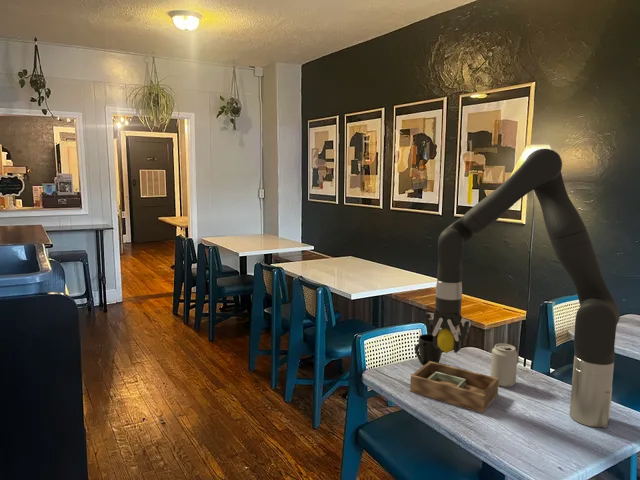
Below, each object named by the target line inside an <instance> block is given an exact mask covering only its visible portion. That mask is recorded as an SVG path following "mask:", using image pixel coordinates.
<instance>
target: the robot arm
mask: <svg viewBox="0 0 640 480" xmlns="http://www.w3.org/2000/svg"><path fill="white" fill-rule="evenodd" d="M562 168H563V160H562V158H561V156H560V154H559V153H558V152H557V151H556V150H553V149H550V148H539V149H536V150H534V151H533V152H531V153H530V154H529V155H528V157H526V159H525V161H524V162H523V163H522V164H521V165H520V166H519V168H518V169H517V170H516V171H514V173H512V174H511V175H510V177H509V178H507V179H506V180H505V181H504V182H502V183H501V185H500V186H498V187H497V188H495V189H494V190H493V191H492V192H490V193H489V194H488V195H486V196H485V197H484V198H483V199H481V200H480V201H479V202H477V203H476V204H475V205H473V206H472V207H471V208H470V209H469V210H468V211H466V213H465V214H463V215H462V216H461V217H460V218H459V219H457V220H456V221H454V222H453V223H451V224H450V225H449V226H447V227H446V228H445V229H444V230H442V231H441V233H440V234H439V237H438V241H437V256H438V257H437V258H438V259H437V260H438V263H437V264H438V265H437V274H436V276H437V277H436V278H437V279H436V284H435V285H436V286H435V302H434V310H435V311H434V312H431V311H429V312H427V313H425V314H424V321H425V328H426V332H427V334H432V335H433V346H434V348H438V347H439V346H438V343H437V337H438V334H439V332H440V331H441V330H442V329H445V328H447V329H449V330H451V332H452V334H453V335H454V338H455V341H454V349H453V353H456V354H457V353H458V352H459V351H461V349H462V341H465V340H467V338H468V337H469V334H470V329H471V325H472V320H471V319H466V318H463V316H462V302H463V300H462V299H463V298H462V297H463V283H462V281H463V264H462V262H463V261H462V260H463V252H464V251H463V250H464V245H465V244H466V243H467V242H469V240H471V239H472V238H473V237H474V236H476V235H478V234H481V233H482V232H484V231H485V230H486V229H487V228H489V227H490V226H491V225H492V224H494V223H495V222H496V221H498V220H499V219H500V218H501V217H502V216H503V215H504V214H505V213H506V212H508V210H510V208H512V207H513V206H514V205H515V204H516V203H517V202H518V201H520V199H522V198H524V196H526V195H527V194H529V193H530V192H532V191H534V194H535V196H536V197H537V200H538V202H539V206H540V209H541V213H542V216H543V221H544V225H545V229H546V232H547V235H548V238H549V241H550V243H551V247H552V249H553V252H554V254H555V256H556V259H557V260H558V262H559V264H560V265H561V267H562V268H563V270H564V271H565V273H566V274H567V275H568V276H569V279H570V280H571V282H572V284H573V287H574V288H575V292H576V295H577V299H578V303H579V307H578V309H577V311H576V313H575V320H574V335H573V347H574V356H573V369H572V379H571V390H570V403H569V416H570V418H571V419H572V420H574V421H575V422H577V423H579V424H582V425H585V426H588V427H593V428H604V429H608V425H609V422H610V415H611V405H612V395H613V378H614V368H615V358H616V352H615V345H616V333H617V325H618V323H619V322H620V317H621V316H620V315H621V314H620V310H619V307H618V305H617V303H616V302H615V299H614V297H613V296H612V293H611V292H610V290H609V288H608V286H607V284H606V282H605V280H604V278H603V277H604V276H603V275H602V271H601V269H600V265H599V261H598V258H597V255H596V252H595V249H594V246H593V243H592V240H591V238H590V235H589V232H588V230H587V227H586V225H585V223H584V221H583V219H582V216H581V215H580V213H579V212H578V210H577V209H576V207H575V205H574V204H573V202H572V200H571V199H570V196H569V194H568V192H567V189H566V186H565V183H564V179H563V176H562V175H563V174H562ZM433 320H435V321H436V324H435V326H434V322H433ZM460 323H461V326H462V327H463V328H462V331H461V329H460V326H459V325H460ZM461 332H462V333H461Z"/></svg>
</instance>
